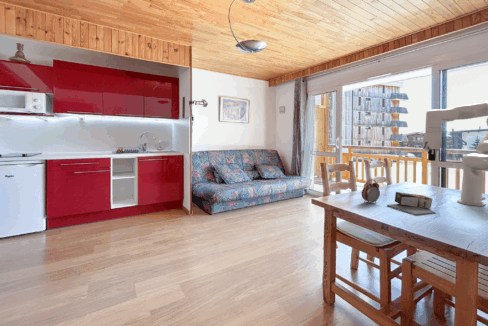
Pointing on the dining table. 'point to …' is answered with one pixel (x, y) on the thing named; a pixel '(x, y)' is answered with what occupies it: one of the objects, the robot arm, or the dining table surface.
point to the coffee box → (413, 200)
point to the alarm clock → (371, 192)
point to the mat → (411, 209)
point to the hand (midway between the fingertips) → (431, 160)
